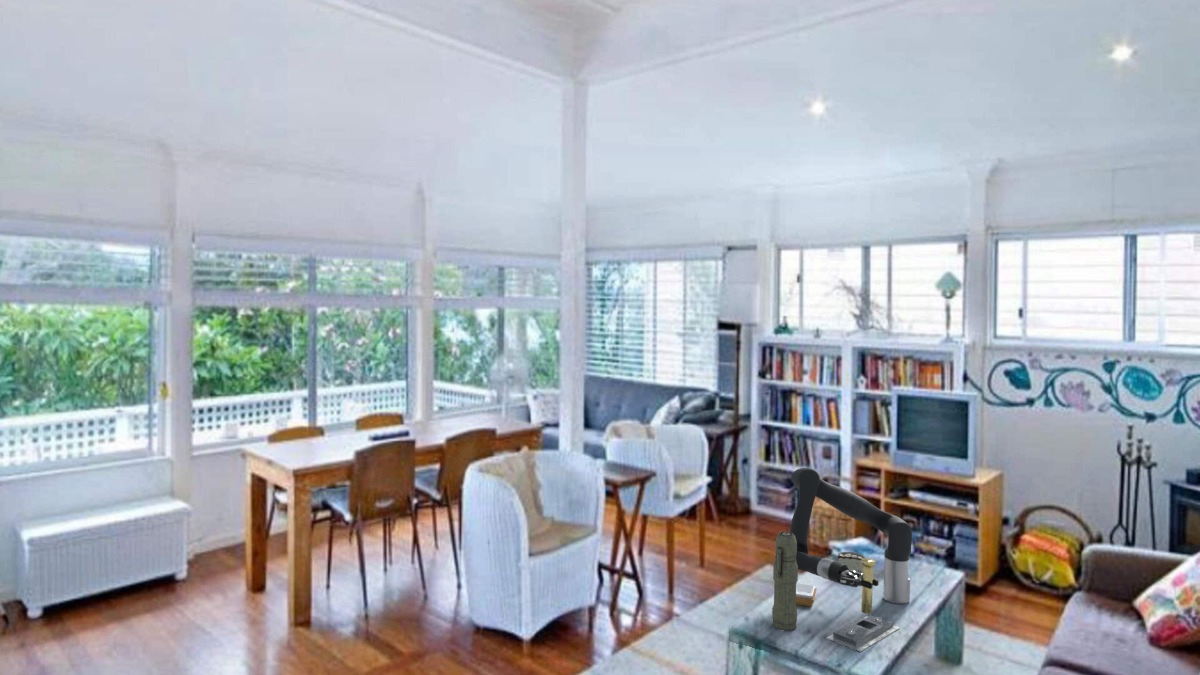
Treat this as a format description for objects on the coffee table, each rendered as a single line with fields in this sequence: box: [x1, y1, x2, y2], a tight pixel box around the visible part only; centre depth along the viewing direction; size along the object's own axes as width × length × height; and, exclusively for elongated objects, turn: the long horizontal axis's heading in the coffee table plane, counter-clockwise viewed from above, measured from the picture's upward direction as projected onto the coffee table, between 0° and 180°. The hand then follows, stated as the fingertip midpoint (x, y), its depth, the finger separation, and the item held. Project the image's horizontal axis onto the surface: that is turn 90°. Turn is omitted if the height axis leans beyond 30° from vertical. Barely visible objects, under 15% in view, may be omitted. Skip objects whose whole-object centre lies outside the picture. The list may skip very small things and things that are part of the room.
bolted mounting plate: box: [826, 614, 900, 653], centre depth 266 cm, size 28×13×4 cm, turn 131°
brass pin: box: [860, 557, 877, 615], centre depth 267 cm, size 5×5×19 cm
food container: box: [836, 551, 866, 572], centre depth 322 cm, size 12×6×10 cm, turn 71°
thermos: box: [771, 531, 799, 632], centre depth 271 cm, size 9×12×35 cm
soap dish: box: [796, 582, 818, 607], centre depth 295 cm, size 12×10×5 cm
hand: (874, 584), depth 264 cm, fingers closed on brass pin, 3 cm apart
